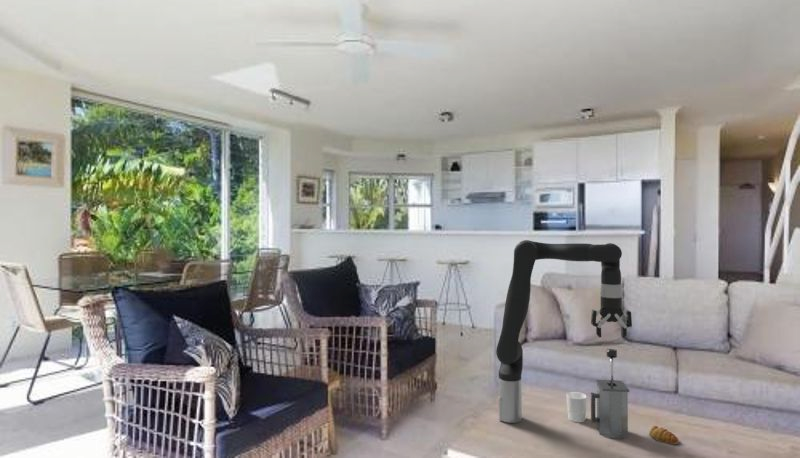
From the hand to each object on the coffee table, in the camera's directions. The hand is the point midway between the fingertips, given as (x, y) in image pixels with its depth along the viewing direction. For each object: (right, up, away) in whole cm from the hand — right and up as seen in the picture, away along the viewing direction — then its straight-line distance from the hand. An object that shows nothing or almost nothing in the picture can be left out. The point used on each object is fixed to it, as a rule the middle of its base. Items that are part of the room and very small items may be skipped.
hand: (611, 337), depth 181 cm
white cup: (-8, -37, +14) cm, 41 cm away
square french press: (0, -37, +1) cm, 37 cm away
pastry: (+17, -38, -5) cm, 42 cm away
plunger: (0, -20, +1) cm, 20 cm away
